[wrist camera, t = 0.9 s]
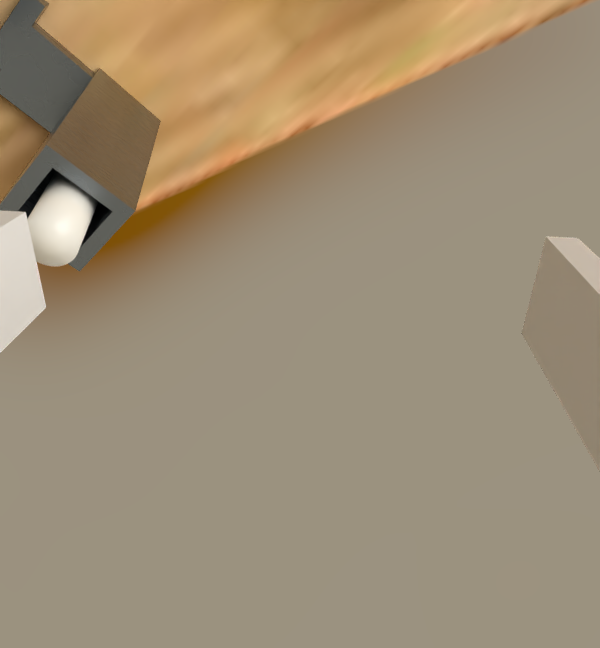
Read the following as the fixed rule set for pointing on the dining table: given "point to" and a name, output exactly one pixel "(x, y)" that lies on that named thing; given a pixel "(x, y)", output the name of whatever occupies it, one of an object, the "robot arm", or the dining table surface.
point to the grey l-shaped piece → (74, 127)
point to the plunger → (60, 221)
